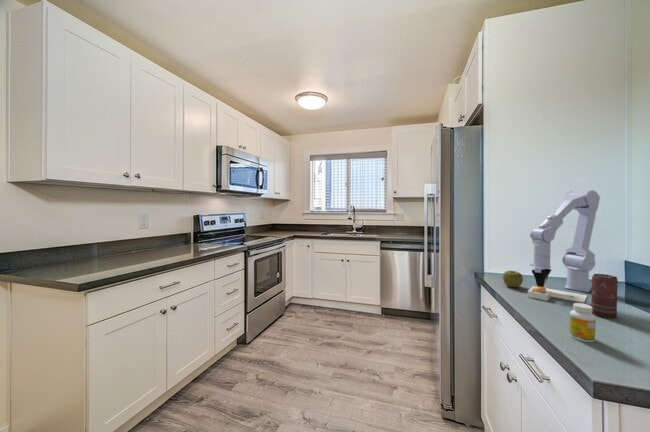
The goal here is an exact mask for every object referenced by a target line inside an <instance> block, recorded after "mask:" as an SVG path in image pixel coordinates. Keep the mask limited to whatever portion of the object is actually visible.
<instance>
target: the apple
mask: <svg viewBox="0 0 650 432" xmlns="http://www.w3.org/2000/svg"><path fill="white" fill-rule="evenodd" d="M502 279H503V282H504V284H505V286H507V287H509V288H519V287H520V286H521V285H523V281H524V276H523V274H522V273H520V272H518V271H516V270H506V271H505V272H504V273H503V275H502Z"/></svg>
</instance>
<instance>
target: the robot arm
mask: <svg viewBox="0 0 650 432" xmlns="http://www.w3.org/2000/svg"><path fill="white" fill-rule="evenodd" d="M562 199H563V202H561V205H560V206H559V207H558V209H557V210H556V211H555V212H554V214H551V215H548V216H546V218H545V220H544V221H543V222H542V223H540V225H539V226H538V227H536V228H533V229H532V231H531V232H530V233H529V237H530V239H531V240H532V243H531V244H533V263H530V264H529V266H531V267H533V268H534V269H531V273H532V274H533V276H534V280H535V283H536V286H539V287H544V284H545V279H546V283H547V282H548V277H549V275H550V273H551V272H552V269H551V268H552V266H551V245H552V244H551V242H552V241H553V240H554V239H555V237H556V233H557V230H559V228H560V227H561V226H562V225H563V224H564V218H566V216H567V215H568V214H570V213H571V212H572V211H573V210H575V211H577V212H578V218H577V222H576V227H575V232H574V236H573V241H572V246H570V247H569V248H568V247H567V249H565V251H564V252H565V253H564V254H563V255H562V257H561V261H562V263H563V265H564V266H565V268H566V284H565V285H564V287H563V288H564V289H568V290H573V291H579V292H585V293H590V291H591V290H592V286H591V285H590V272H591V271H592V270H594V268H595V266H596V260H595V258H596V257H595V256H596V254H595V253H593V252H592V250H591V249H590V244H591V238H592V234H593V229H594V224H595V220H596V214H597V211H598V209H599V204H600V200H601V196H600V194H599V193H598V192H597V191H596V190H593V189H592V190H582V191H580V190H579V191H573V190H571V191H568V192H567V193H565V196H563V197H562Z"/></svg>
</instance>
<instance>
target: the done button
mask: <svg viewBox="0 0 650 432" xmlns="http://www.w3.org/2000/svg"><path fill="white" fill-rule="evenodd" d="M533 286H534V292H538V293H543V294H545V288H543V287H539V286H537V285H536V286H535V285H533Z"/></svg>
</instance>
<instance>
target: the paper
mask: <svg viewBox="0 0 650 432" xmlns="http://www.w3.org/2000/svg"><path fill="white" fill-rule="evenodd" d="M534 286H535V285H532V286H531V287H530V288H529V289H528V290H530V289H531V288H534ZM528 290H527V291H526V292H527V293H528ZM546 290H547V291H551V297H550V298H555V299H561V300H566V301H571V302H575V303H582V304H585V301H586V300H587V297H588V295H586V294H582V293H576V292H569V291H565V290H564V291H563V290H559V289H553V288H552V289H551V288H548V287H546Z"/></svg>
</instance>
